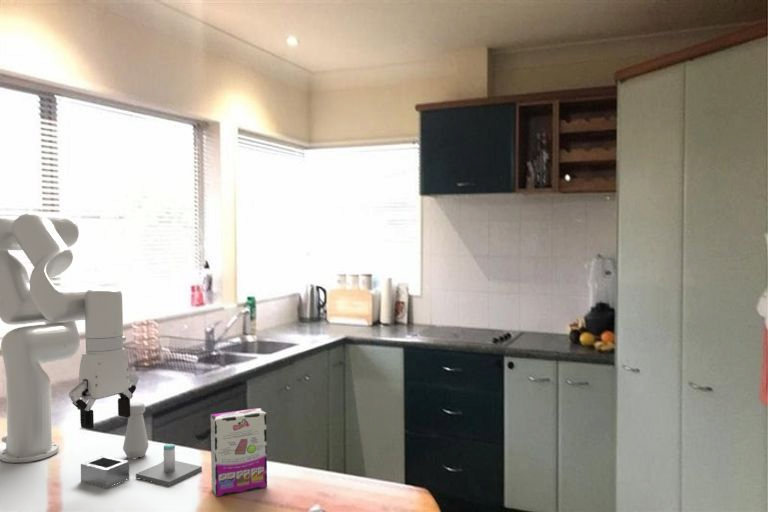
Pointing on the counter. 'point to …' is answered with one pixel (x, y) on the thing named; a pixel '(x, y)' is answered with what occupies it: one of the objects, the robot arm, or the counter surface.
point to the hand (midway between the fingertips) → (106, 422)
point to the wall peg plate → (169, 469)
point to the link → (104, 471)
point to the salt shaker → (136, 432)
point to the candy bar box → (238, 451)
